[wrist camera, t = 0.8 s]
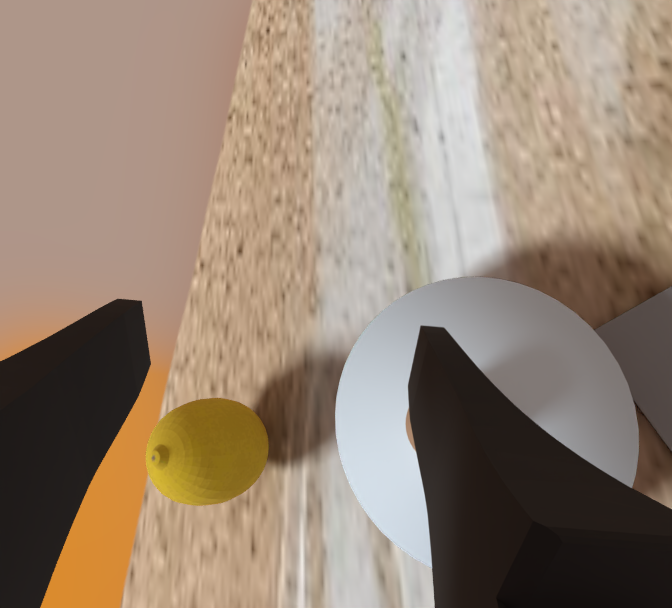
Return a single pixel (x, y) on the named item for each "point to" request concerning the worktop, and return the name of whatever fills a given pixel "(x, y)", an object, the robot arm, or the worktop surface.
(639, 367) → the mat
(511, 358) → the lid
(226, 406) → the lemon
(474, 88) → the worktop surface
